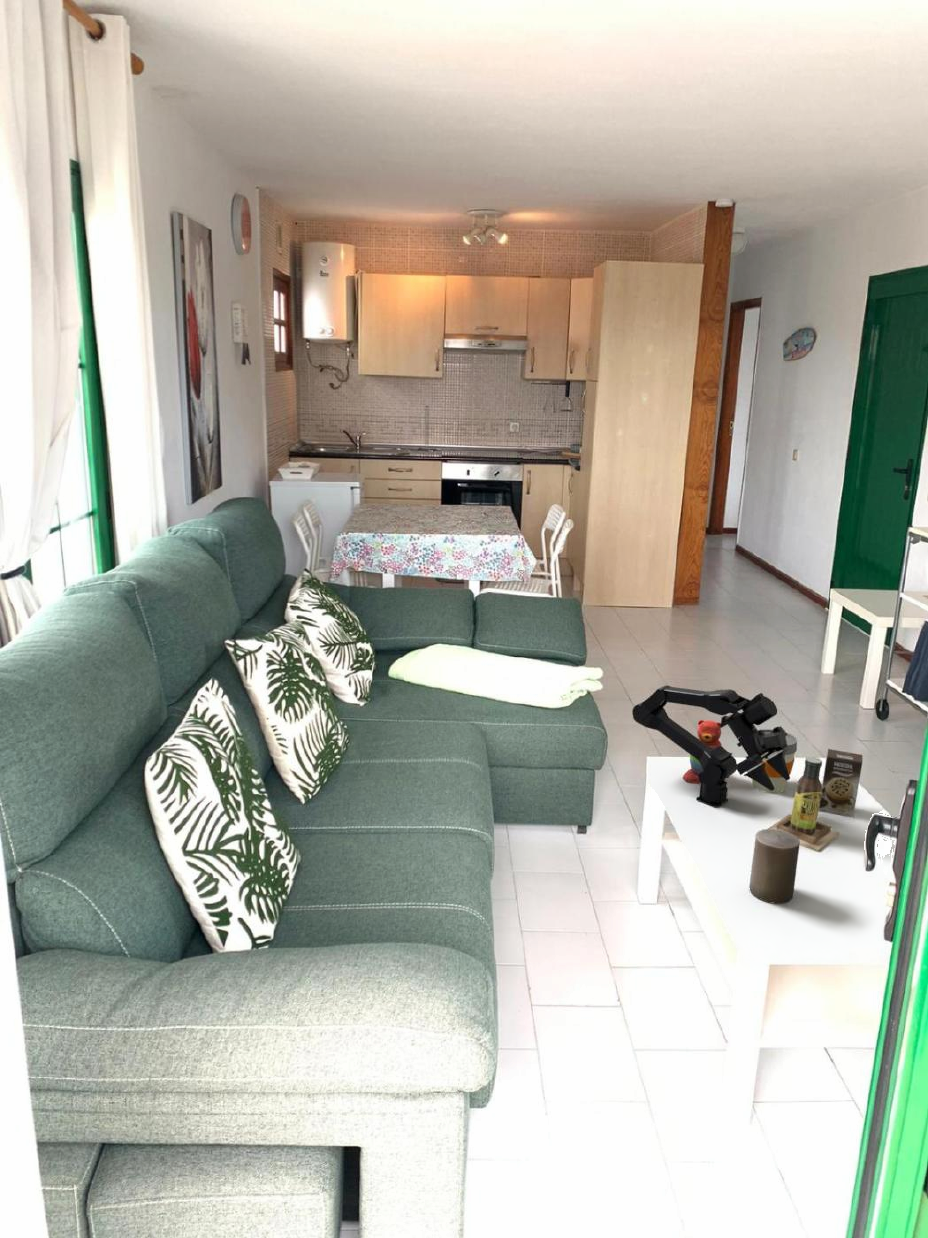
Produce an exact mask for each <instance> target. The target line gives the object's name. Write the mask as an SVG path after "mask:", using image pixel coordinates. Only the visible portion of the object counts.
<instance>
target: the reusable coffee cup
mask: <svg viewBox="0 0 928 1238" xmlns="http://www.w3.org/2000/svg"><path fill="white" fill-rule="evenodd" d="M757 730H758V731H759V730H760V729H757ZM762 730H763V731H764V733H765V734H767V733H770V732H773V729H769V728H768V729H764V728H763V729H762ZM785 733H787V736H786V741H787V743H786V744H787V745H788V746H787V747H786V748H784V749H783V750H782V751H784V750H785V749H787V751H786V753H785V762H786V766H787V769H788V773H789V776H790V775H791V774H792V770H793V767H794V763H795V754H796V752H797V751H798V739H797V738H796V737H795V736H794V735H792V734H790V733H788V732H787V731H785ZM762 757H763V756H762ZM768 759H769V758H767V759H766V758H764V759H763V762H762V763H761V764H763V763H765V771H766V773H767V775H768V777H769V778H770V780H771V782H772V784H773V786H774V788H775V789H774V790H773V791H770V790H769V789H767V788H766V787H764V786H763V785H761V784H759V783H758V782H756V781H755V780H753V779H751V784H752V786H753V788H755V789H757V788H758V789H757V790H759V791H761V790H762V792H764V791H765V793H770V794H771V793H773V794H774V793H775V794H776V793H782V792H784V791H785V790H786V785H787V782H788V780H785V779H784V778H783V777H782V776H781V775H780V774H779V773H778V772H777V771H776V770H775V769H773V768H772V767H771V766H770V765H769V764H768V763H767V762H766V761H767V760H768ZM784 789H785V790H784Z"/></svg>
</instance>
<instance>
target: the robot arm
mask: <svg viewBox="0 0 928 1238" xmlns="http://www.w3.org/2000/svg"><path fill="white" fill-rule="evenodd" d="M668 703H671V704H678V705H684V706H692V707H699V708H702V709H705V710H706V711H708V712H710V713H712V714H715V715H719V716H721V721H720V723H721V724H720V727H721V729H722V728H724V727H725V726H728V727H729V729H730V730H731V732H732V734H733V735H734V736H735V738H736V739H737V741H738V742H737V743H736V745H737V746H738V748H739V747H742V748H743V750H744V752H745V753H746V754H747V756H745V759H743V760H741V761H740V762H739V763H737V760H736V758H735V757H734V756H733V753H732V752H729V751H728V750H727V749H726V748H725V747H723V745H722V746H718V747H717V748H715V749H714V748H710V747H709V746H707V745H706V744H704V743H703V742H702V741H700V740H699V739H698V738H699V737H697V736H695V735H694V734H692V733H690V732H689V731H688V730H686V729H685V728H684V727H683V726H681V725H680V724H678V723H677V722H675V721H674V720H673V719H672V718H670V717H669V715H668V713H667V711H666V709H665V708H664V707H666V705H667V704H668ZM740 711H741V713H740ZM631 713H632V720H634V721H635V723H637V724H638V725H641V726H643V727H644V728H646V729H651V730H655V731H658V732H659V733H661V734H662V735H663V736H665V737H666V738H667V739H668V740H670V741H671V742H672V743H674V744H675V745H677V747H679V748H680V749H682V750H683V751H685V752H686V753H688V754H689V756H690V755H692V756H693V757H694V758H696V759H697V760H698V761H699V762H700V764H701V766H702V768H703V770H704V771H703V772H701V773H700V774H698V778H699V782H701V784H699V787H700V788H699V795H698V796H697V797H696V798H695V800H696V801H698V802H701V803H704V804H705V805H709V806H711V807H713V808H719V807H720V806H722V805H723V804H725V803H727V802H728V800H729V798H728V790H729V788H728V786H727V785H728V781H726V780H727V779H729V778H730V776H732V775H734V773H735V772H736V771H737V773H738V774H739V775H740V776H741V775H743V776H744V777H748V778H749V779H751V780H752V779H753V780H755V781H756V782H758V783H759V784H761V785H763V786H764V787H766V788H767V789H769V790H770V791H773V790H774V789H775V788H774V786H773V784H772V782H771V780H770V778H769V777H768V775H767V773H766V771H765V763H763V764H761V763H762V762H763V759H764V758H766V759H767V758H769V759H768V760H767V761H766V762H767V763H768V764H769V765H770V766H771V767H772V768H773V769H775V770H776V771H777V772H778V773H779V774H780V775H781V776H782V777H783V778H784V779H785V780H787V781H789V780H790V779H791V777H790V775H789V773H788V769H787V766H786V762H785V753H786V751H787V749H785V750H784V751H782V750H783V749H784V748H786V747H787V746H788V745H787V744H786V743H787V741H786V736H787V733H788V732H786V730H785V729H784V728H783V726H781V725H778V726H775V727H774V728H773V729H772V730H773V732H770V733H767V734H765V733H764V731H763V729H757V727H756V726H760V725H762V724H764V723H765V722H767V721H769V720H770V719H772V718H774V717H775V716H776V715H777V714H778V708H777V706H776V704H775V702H774V701H773V700H771V699H770V698H769V697H767V696H765V695H764V694H763V693H762V692H760V693H759V694H757V695H755V696H754V697H753V698H751V699H748V698H746V697H745V696H742V695H739V694H738V693H737V691H735V690H733V689H730V688H728V689H718V690H711V691H710V690H709V691H707V690H706V691H705V690H698V689H697V690H696V689H690V688H682V687H674V686H670V685H664V686H661V687H659V688H657V689H656V690H655V691H654V692H653V693H652V694H651V695H650V696H649V697H648V698H646V699H645V700H644V701H642V702H640V703H638V704H635V705H634V707H633V708H632V712H631ZM728 714H730V715H729V716H728ZM758 730H759V731H758ZM785 732H786V733H785ZM762 756H763V757H762ZM735 774H736V773H735Z"/></svg>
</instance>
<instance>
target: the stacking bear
mask: <svg viewBox="0 0 928 1238" xmlns="http://www.w3.org/2000/svg"><path fill="white" fill-rule="evenodd" d="M697 724H698V727H697V732H696V733H697V738H698V739H699V740H700V741H702V742H703V743H704V744H706V745H707V746H709V747H710V748H714V749H715V748H717V747H718V746H722V747H723V745H722V743H721V741H720V738H721V735H722V728H721V727H720V724H721V722H716V721H713V720H703V719H701V720H699V721H698V722H697ZM689 763H690V767H691V768H690V769H688V770H687V771H686V772H685V773H684V774H683V775H682V776H683V777H682V779H683V781H684V782H686V783H689V784H699V785H701V782H699V778H698V774H700V773H701V772H703V771H704V770H703V768H702V766H701V764H700V762H699V761H698V760H697V759H696V758H694V757H693V756H692V755H690V754H689Z"/></svg>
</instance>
